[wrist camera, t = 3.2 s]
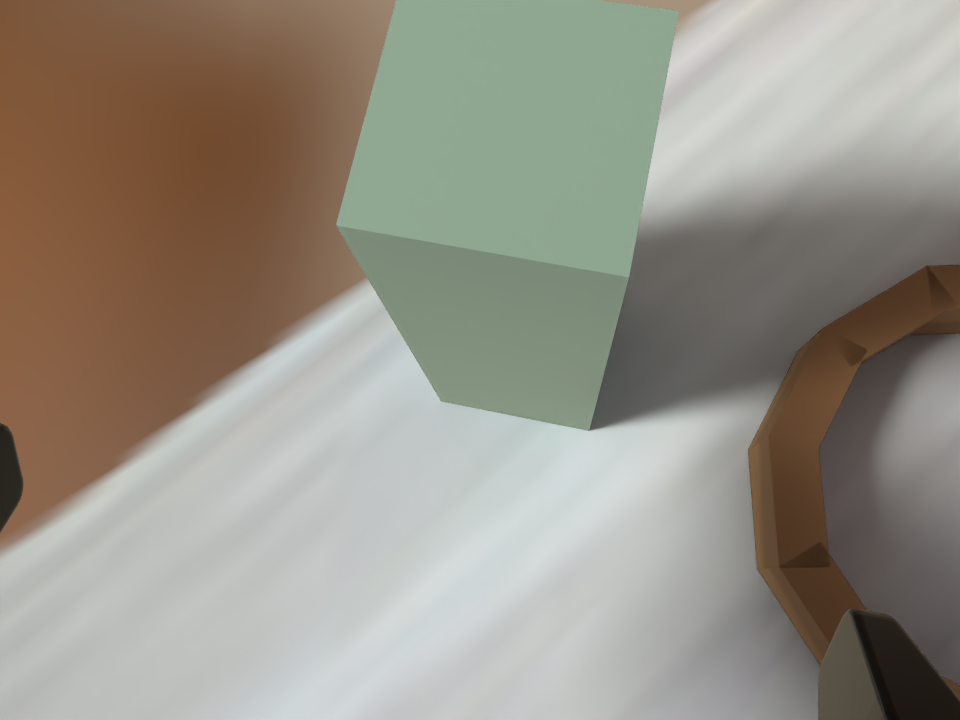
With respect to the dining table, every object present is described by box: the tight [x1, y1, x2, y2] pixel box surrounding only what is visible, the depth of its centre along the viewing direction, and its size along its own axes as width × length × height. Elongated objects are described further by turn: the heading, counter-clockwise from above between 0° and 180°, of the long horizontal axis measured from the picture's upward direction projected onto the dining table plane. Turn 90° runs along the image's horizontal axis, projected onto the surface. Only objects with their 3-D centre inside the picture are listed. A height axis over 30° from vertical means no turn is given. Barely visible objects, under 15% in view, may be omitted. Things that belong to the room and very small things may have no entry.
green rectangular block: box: [336, 0, 679, 431], centre depth 16 cm, size 4×4×11 cm
